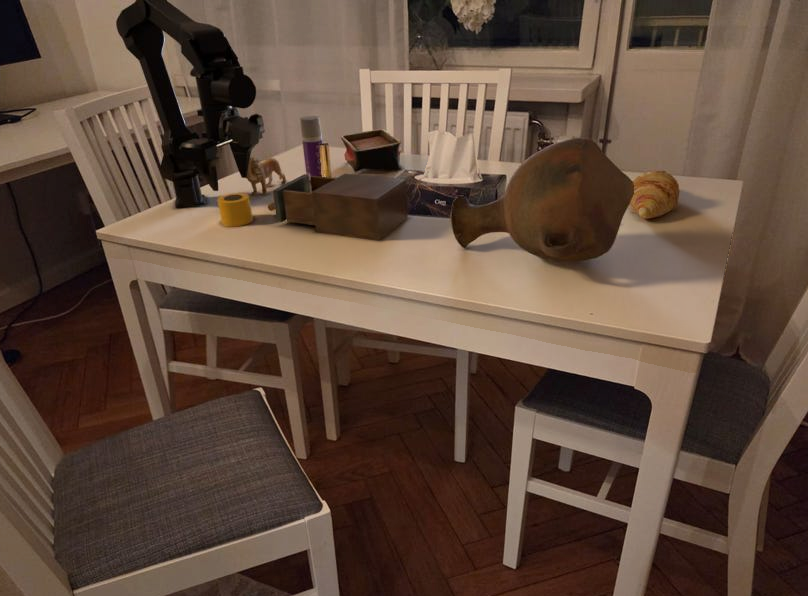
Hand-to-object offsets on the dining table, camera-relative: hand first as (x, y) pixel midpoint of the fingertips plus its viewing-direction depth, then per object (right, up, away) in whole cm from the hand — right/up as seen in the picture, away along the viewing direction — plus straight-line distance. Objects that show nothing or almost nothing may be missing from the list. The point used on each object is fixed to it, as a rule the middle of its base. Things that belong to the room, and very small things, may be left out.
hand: (230, 184), depth 128 cm
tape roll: (+1, -7, +4) cm, 8 cm away
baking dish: (+29, +14, +34) cm, 47 cm away
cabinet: (+27, -9, -2) cm, 28 cm away
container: (+15, +7, +25) cm, 30 cm away
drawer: (+16, -6, +3) cm, 17 cm away
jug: (+58, -17, -18) cm, 63 cm away
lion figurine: (+4, +4, +21) cm, 22 cm away
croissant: (+85, -5, -1) cm, 85 cm away
